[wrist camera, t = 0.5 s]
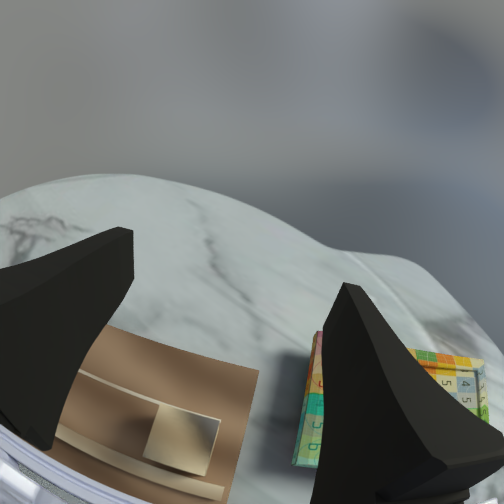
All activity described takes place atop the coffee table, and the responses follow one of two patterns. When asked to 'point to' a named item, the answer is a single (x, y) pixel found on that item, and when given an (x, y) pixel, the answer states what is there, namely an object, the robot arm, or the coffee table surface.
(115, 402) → the board
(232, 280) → the coffee table surface
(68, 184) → the coffee table surface
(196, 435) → the block
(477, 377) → the puzzle game
